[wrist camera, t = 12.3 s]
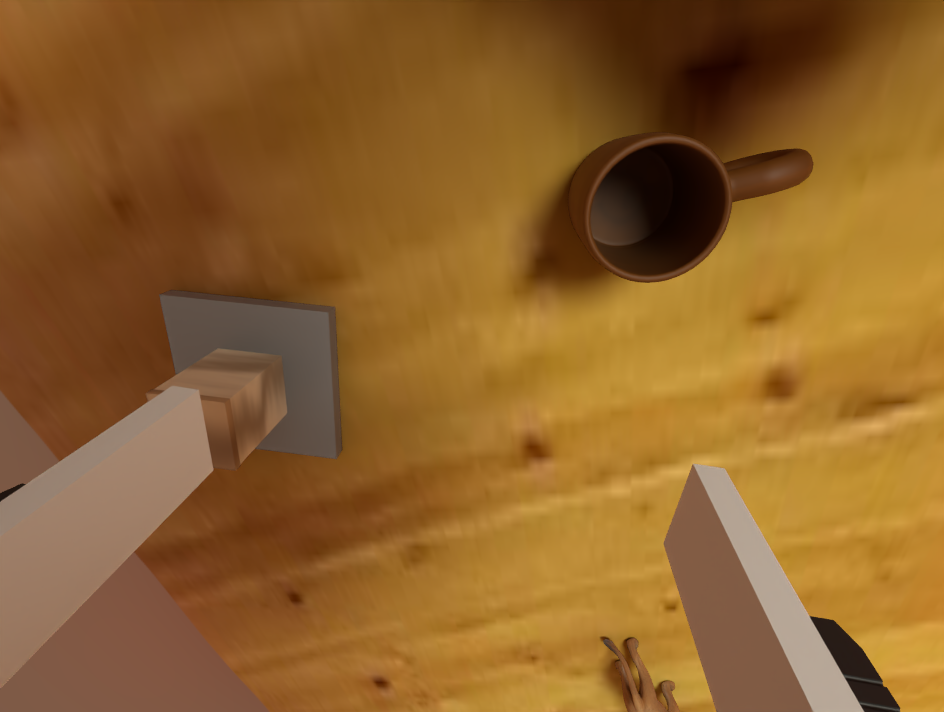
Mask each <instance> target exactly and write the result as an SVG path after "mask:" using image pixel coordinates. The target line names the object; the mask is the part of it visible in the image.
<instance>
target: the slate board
mask: <svg viewBox="0 0 944 712" xmlns="http://www.w3.org/2000/svg"><path fill="white" fill-rule="evenodd" d="M159 296H160V301H161V305H162V310H163V315H164V320H165V325H166V329H167V334H168V339H169V344H170V349H171V353H172V358H173V363H174V368H175V373H176V375H177V374H179V373H180V372H182V371H183V370H185V369H186V368H188V367H190V366H191V365H193V364H194V363H196V362H197V361H199V360H201V359H202V358H204V357H205V356H207V355H208V354H210V353H212V352H213V351H215V350H216V349H218V348H219V349H228V350H237V351H245V352H254V353H263V354H272V355H281V356H282V364H283V374H284V384H285V394H286V404H287V414H286V415H285V416H284V417H283V418H282V419H281V420H280V422H279V423H278V424H277V425H276V426H275V427H274V428H273V429H272V430H271V431H270V432H269V434H268V435H267V436H266V437H265V438H264V439H263V440H262V441H261V442H260V443H259V445H258V446H257V447H256V448H255V449H262V450H269V451H277V452H285V453H293V454H301V455H309V456H317V457H325V458H333V459H337V457H338V456H339V454H340V453H341V451H342V438H341V418H340V398H339V378H338V358H337V338H336V317H335V307H330V306H321V305H311V304H301V303H292V302H282V301H273V300H263V299H253V298H244V297H234V296H225V295H215V294H205V293H196V292H186V291H176V290H170V291H167V292H165V293H162V294H160V295H159Z"/></svg>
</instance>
